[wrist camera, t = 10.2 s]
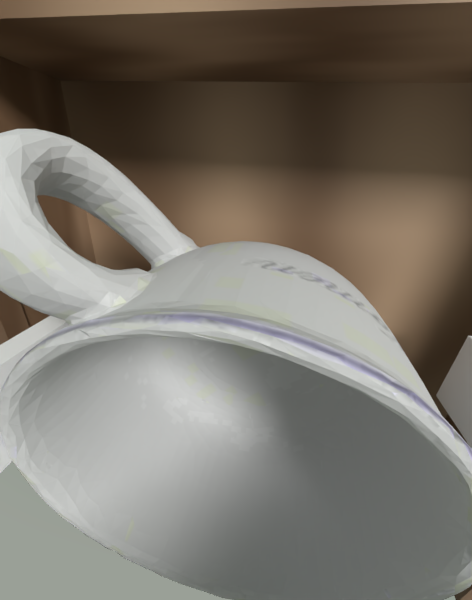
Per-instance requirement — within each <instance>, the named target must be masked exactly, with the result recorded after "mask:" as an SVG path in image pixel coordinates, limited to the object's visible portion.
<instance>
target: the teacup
mask: <svg viewBox="0 0 472 600" xmlns="http://www.w3.org/2000/svg"><path fill="white" fill-rule="evenodd" d="M38 195H47V196H52V197H56V198H59V199H62V200H65V201H68V202H70V203H72V204H74V205H76V206H78V207H79V208H81V209H83V210H85V211H87V212H88V213H90V214H92V215H93V216H95V217H96V218H98V219H99V220H101V221H102V222H103V223H105V224H106V225H107V226H109V227H110V228H111V229H113V230H114V231H115V232H117V233H118V234H119V235H120V236H121V237H123V238H124V239H125V240H126V241H127V242H129V243H130V244H131V245H132V246H133V247H134V248H135V249H136V250H137V251H138V252H139V253H140V254H141V255H142V256H143V257H144V258H145V259H146V260H147V261H148V262H149V263H150V264H151V270H150V271H148V272H147V271H144V270H141V269H139V268H133V269H124V270H112V269H109V268H106V267H103V266H100V265H98V264H95V263H92V262H91V261H89V260H87V259H85V258H84V257H82V256H80V255H78V254H77V253H76V252H74V251H73V250H72V249H71V248H70V247H68V246H67V244H66V243H65V242H64V241H63V240H62V239H61V237H60V236H59V235H58V234H57V233H56V231H55V230H54V229H53V228H52V227H51V225H50V224H49V223H48V221H47V219H46V217H45V215H44V213H43V211H42V209H41V207H40V204H39V202H38V198H37V196H38ZM0 291H2V292H3V293H5V294H6V295H8V296H9V297H11V298H13V299H15V300H17V301H19V302H21V303H23V304H25V305H27V306H29V307H31V308H33V309H35V310H37V311H39V312H41V313H44V314H47V315H50V316H53V317H56V318H59V319H63V320H65V321H66V322H67V323H68V324H69V325H68V327H64V328H62V329H61V330H59V331H58V332H56V333H54V334H52V335H50V336H49V337H47V338H46V339H44V340H43V341H41V342H40V343H39V344H37V345H36V346H35V347H33V348H32V349H31V350H29V351H28V352H27V353H26V354H25V355H24V356H23V357H22V358H21V359H20V360H19V361H18V362H17V363H16V365H15V366H14V368H13V369H12V371H11V373H10V374H9V376H8V378H7V379H6V381H5V383H4V385H3V387H2V389H1V391H0V432H1V434H2V437H3V440H4V443H5V446H6V449H7V451H8V453H9V456H10V458H11V460H12V461H13V462H14V464H16V466H17V467H18V469H19V471H20V473H21V474H22V475H23V477H24V478H25V479H26V481H27V482H28V483H29V484H30V485H31V487H32V488H33V489H34V490H35V491H36V492H37V494H38V495H39V496H40V497H41V498H42V499H43V500H44V501H45V502H46V503H47V504H48V505H49V506H50V507H51V508H52V509H53V510H54V511H56V512H57V513H58V514H59V515H60V516H61V517H63V518H64V519H65V520H66V521H68V522H69V523H71V524H72V525H73V526H75V527H76V528H78V529H79V530H81V531H82V532H83V533H84V534H85V535H87V536H88V537H90V538H91V539H93V540H95V541H96V542H98V543H100V544H101V545H102V546H104V547H105V548H107V549H110V550H114V551H115V552H117V553H118V554H119V555H121V556H122V557H124V558H125V559H127V560H129V561H132V562H134V563H136V564H138V565H140V566H142V567H144V568H147V569H149V570H151V571H153V572H155V573H157V574H158V575H160V576H163V577H165V578H168V579H170V580H172V581H175V582H178V583H180V584H183V585H186V586H189V587H192V588H195V589H198V590H201V591H204V592H207V593H210V594H213V595H216V596H219V597H222V598H226V599H232V600H444V599H447V598H449V597H451V596H454V595H456V594H458V593H460V592H462V591H464V590H465V589H467V588H469V587H470V586H471V585H472V448H471V447H470V446H469V445H468V444H467V443H466V442H465V440H464V439H463V438H462V437H461V436H460V435H459V434H458V433H457V431H456V430H455V429H454V428H453V427H452V426H451V425H450V424H449V423H448V422H447V421H446V420H445V418H444V417H443V416H442V415H441V413H440V412H439V410H438V408H437V406H436V405H435V403H434V401H433V399H432V398H431V396H430V394H429V392H428V390H427V389H426V387H425V385H424V383H423V382H422V380H421V378H420V377H419V375H418V374H417V372H416V370H415V369H414V367H413V365H412V364H411V362H410V361H409V359H408V357H407V356H406V354H405V352H404V351H403V349H402V348H401V346H400V344H399V343H398V341H397V340H396V338H395V336H394V335H393V333H392V332H391V330H390V329H389V328H388V326H387V325H386V323H385V322H384V321H383V319H382V318H381V316H380V315H379V314H378V312H377V311H376V309H375V308H374V307H373V306H372V305H371V304H370V302H369V301H368V300H367V299H366V298H365V297H364V295H363V294H362V293H361V292H360V291H359V290H358V289H357V288H356V287H355V286H354V285H353V284H352V283H351V282H349V281H348V280H347V279H346V278H344V277H343V276H342V275H340V274H339V273H338V272H337V271H335V270H334V269H332V268H331V267H329V266H327V265H326V264H324V263H322V262H320V261H318V260H317V259H315V258H313V257H311V256H309V255H307V254H304V253H301V252H298V251H296V250H293V249H290V248H287V247H283V246H279V245H275V244H269V243H263V242H251V241H237V242H224V243H218V244H212V245H208V246H204V247H201V248H200V247H198V246H197V245H196V244H195V243H194V241H193V240H192V239H191V238H189V237H188V236H186V235H185V234H183V233H181V232H179V231H178V230H177V229H176V228H175V226H174V225H173V224H172V223H171V222H170V221H169V220H168V219H167V217H166V216H165V215H164V214H163V213H162V212H161V211H160V210H159V209H158V208H157V207H156V206H155V205H154V204H153V203H152V202H151V201H150V200H149V199H148V198H147V197H146V196H145V195H144V194H143V193H142V192H141V191H140V190H139V189H138V188H137V187H136V186H135V185H134V184H133V183H132V182H131V181H130V180H129V179H128V178H127V177H126V176H125V175H124V174H123V173H121V172H120V171H119V170H118V169H117V168H115V167H114V166H113V165H112V164H111V163H109V162H108V161H107V160H105V159H104V158H103V157H101V156H100V155H98V154H97V153H95V152H94V151H92V150H91V149H90V148H88V147H86V146H84V145H82V144H81V143H79V142H77V141H75V140H73V139H71V138H69V137H66V136H62V135H59V134H56V133H52V132H48V131H44V130H38V129H15V130H11V131H7V132H3V133H0Z"/></svg>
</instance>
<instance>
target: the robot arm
mask: <svg viewBox="0 0 472 600" xmlns="http://www.w3.org/2000/svg"><path fill="white" fill-rule="evenodd" d="M68 325H69V324H68V323H67V322H66V321H65V320H63V319H59V318H56V317H53V316H49V317H47V318H45V319H44V320H42V321H40V322H38V323H37V324H35V325H33V326H32V327H30V328H28V329H27V330H25V331H23V332H21V333H20V334H18V335H16V336H15V337H13V338H11V339H10V340H8V341H6V342H4V343H3V344H1V345H0V391H1V389H2V387H3V385H4V383H5V381H6V379H7V378H8V376H9V374H10V373H11V371H12V369H13V368H14V366H15V365H16V363H17V362H18V361H19V360H20V359H21V358H22V357H23V356H24V355H25V354H26V353H27V352H28V351H29V350H31V349H32V348H33V347H35V346H36V345H37V344H39V343H40V342H41V341H43V340H44V339H46V338H47V337H49V336H50V335H52V334H54V333H56V332H58V331H59V330H61V329H62V328H64V327H68ZM436 396H437V398H438V399H439V401H440V402H441V404H442V405H443V407H444V408H445V410H446V411H447V413H448V414H449V416H450V417H451V419H452V420H453V422H454V423H455V425H456V426H457V428H458V429H459V431H460V432H461V434H462V435H463V437H464V438H465V440H466V441H467V443H468V444H469V446H470V447H471V448H472V336H468V337H467V339H466V341H465V342H464V344H463V346H462V348H461V350H460V352H459V354H458V355H457V357H456V359H455V361H454V363H453V365H452V366H451V368H450V370H449V372H448V374H447V376H446V378H445V379H444V381H443V383H442V385H441V387H440V389H439V391H438V392H437V394H436ZM11 462H12V460H11V458H10V456H9V453H8V451H7V449H6V446H5V443H4V440H3V437H2V434H1V432H0V473H1V472H2V471H3V470H4V469H5V468H6V467H7V466H8V465H9V464H10V463H11Z"/></svg>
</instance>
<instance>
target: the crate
mask: <svg viewBox="0 0 472 600" xmlns="http://www.w3.org/2000/svg"><path fill="white" fill-rule="evenodd" d="M15 129H38V130H44V131H48V132H52V133H56V134H59V135H62V136H66V137H69V138H71V139H73V140H75V141H77V142H79V143H81V144H82V145H84V146H86V147H88V148H90V149H91V150H92V151H94V152H95V153H97V154H98V155H100V156H101V157H103V158H104V159H105V160H107V161H108V162H109V163H111V164H112V165H113V166H114V167H115V168H117V169H118V170H119V171H120V172H121V173H123V174H124V175H125V176H126V177H127V178H128V179H129V180H130V181H131V182H132V183H133V184H134V185H135V186H136V187H137V188H138V189H139V190H140V191H141V192H142V193H143V194H144V195H145V196H146V197H147V198H148V199H149V200H150V201H151V202H152V203H153V204H154V205H155V206H156V207H157V208H158V209H159V210H160V211H161V212H162V213H163V214H164V215H165V216H166V217H167V219H168V220H169V221H170V222H171V223H172V224H173V225H174V226H175V228H176V229H177V230H178V231H179V232H181V233H183V234H185V235H186V236H188V237H189V238H191V239H192V240H193V241H194V243H195V244H196V245H197V246H198V247H200V248H201V247H204V246H208V245H212V244H218V243H224V242H237V241H251V242H263V243H269V244H275V245H279V246H283V247H287V248H290V249H293V250H296V251H298V252H301V253H304V254H307V255H309V256H311V257H313V258H315V259H317V260H318V261H320V262H322V263H324V264H326V265H327V266H329V267H331V268H332V269H334V270H335V271H337V272H338V273H339V274H340V275H342V276H343V277H344V278H346V279H347V280H348V281H349V282H351V283H352V284H353V285H354V286H355V287H356V288H357V289H358V290H359V291H360V292H361V293H362V294H363V295H364V297H365V298H366V299H367V300H368V301H369V302H370V304H371V305H372V306H373V307H374V308H375V309H376V311H377V312H378V314H379V315H380V316H381V318H382V319H383V321H384V322H385V323H386V325H387V326H388V328H389V329H390V330H391V332H392V333H393V335H394V336H395V338H396V340H397V341H398V343H399V344H400V346H401V348H402V349H403V351H404V352H405V354H406V356H407V357H408V359H409V361H410V362H411V364H412V365H413V367H414V369H415V370H416V372H417V374H418V375H419V377H420V378H421V380H422V382H423V383H424V385H425V387H426V389H427V390H428V392H429V394H430V396H431V398H432V399H433V401H434V403H435V405H436V406H437V408H438V410H439V412H440V413H441V415H442V416H443V417H444V418H445V420H446V421H447V422H448V423H449V424H450V425H451V426H452V427H453V428H454V429H455V430H456V431H457V433H458V434H459V435H460V436H461V437H462V438H463V439H464V440H465V438H464V437H463V435H462V434H461V432H460V431H459V429H458V428H457V426H456V425H455V423H454V422H453V420H452V419H451V417H450V416H449V414H448V413H447V411H446V410H445V408H444V407H443V405H442V404H441V402H440V401H439V399H438V398H437V396H436V394H437V392H438V391H439V389H440V387H441V385H442V383H443V381H444V379H445V378H446V376H447V374H448V372H449V370H450V368H451V366H452V365H453V363H454V361H455V359H456V357H457V355H458V354H459V352H460V350H461V348H462V346H463V344H464V342H465V341H466V339H467V337H468V336H472V0H0V133H3V132H7V131H11V130H15ZM37 198H38V202H39V204H40V207H41V209H42V211H43V213H44V215H45V217H46V219H47V221H48V223H49V224H50V225H51V227H52V228H53V229H54V230H55V231H56V233H57V234H58V235H59V236H60V237H61V239H62V240H63V241H64V242H65V243H66V244H67V246H68V247H70V248H71V249H72V250H73V251H74V252H76V253H77V254H78V255H80V256H82V257H84V258H85V259H87V260H89V261H91V262H92V263H95V264H98V265H100V266H103V267H106V268H109V269H112V270H124V269H133V268H139V269H141V270H144V271H147V272H148V271H150V270H151V264H150V263H149V262H148V261H147V260H146V259H145V258H144V257H143V256H142V255H141V254H140V253H139V252H138V251H137V250H136V249H135V248H134V247H133V246H132V245H131V244H130V243H129V242H127V241H126V240H125V239H124V238H123V237H121V236H120V235H119V234H118V233H117V232H115V231H114V230H113V229H111V228H110V227H109V226H107V225H106V224H105V223H103V222H102V221H101V220H99V219H98V218H96V217H95V216H93V215H92V214H90V213H88V212H87V211H85V210H83V209H81V208H79V207H78V206H76V205H74V204H72V203H70V202H68V201H65V200H62V199H59V198H56V197H52V196H47V195H38V196H37ZM49 316H50V315H47V314H44V313H41V312H39V311H37V310H35V309H33V308H31V307H29V306H27V305H25V304H23V303H21V302H19V301H17V300H15V299H13V298H11V297H9V296H8V295H6V294H5V293H3V292H2V291H0V345H1V344H3V343H4V342H6V341H8V340H10V339H11V338H13V337H15V336H16V335H18V334H20V333H21V332H23V331H25V330H27V329H28V328H30V327H32V326H33V325H35V324H37V323H38V322H40V321H42V320H44V319H45V318H47V317H49ZM465 442H466V443H467V441H466V440H465ZM467 444H468V443H467ZM468 445H469V444H468ZM454 596H455V598H456V600H472V585H471V586H470V587H469V588H467V589H465V590H464V591H462V592H460V593H458V594H456V595H454Z"/></svg>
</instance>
